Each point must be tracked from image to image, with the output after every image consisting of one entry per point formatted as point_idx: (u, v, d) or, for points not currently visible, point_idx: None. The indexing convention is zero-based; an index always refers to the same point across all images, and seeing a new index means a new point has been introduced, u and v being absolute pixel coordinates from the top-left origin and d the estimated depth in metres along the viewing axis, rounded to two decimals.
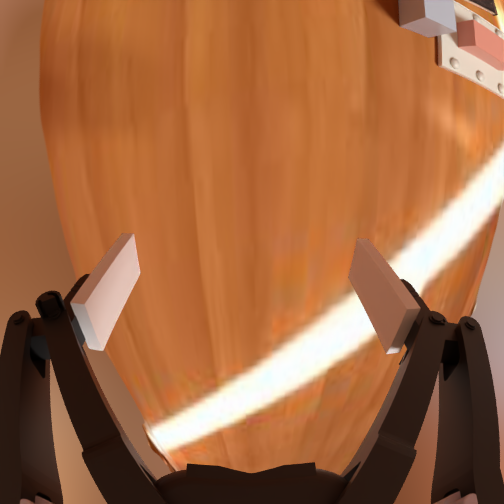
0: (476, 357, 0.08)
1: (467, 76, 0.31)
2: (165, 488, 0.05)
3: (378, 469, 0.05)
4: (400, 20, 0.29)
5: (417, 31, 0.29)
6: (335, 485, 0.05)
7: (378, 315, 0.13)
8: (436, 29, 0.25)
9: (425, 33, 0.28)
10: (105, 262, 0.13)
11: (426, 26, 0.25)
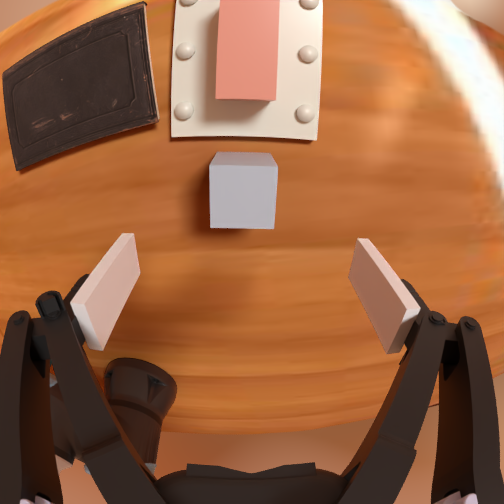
0: (476, 357, 0.08)
1: (318, 85, 0.27)
2: (165, 488, 0.05)
3: (378, 469, 0.05)
4: None
5: None
6: (335, 485, 0.05)
7: (378, 315, 0.13)
8: None
9: None
10: (105, 262, 0.13)
11: None
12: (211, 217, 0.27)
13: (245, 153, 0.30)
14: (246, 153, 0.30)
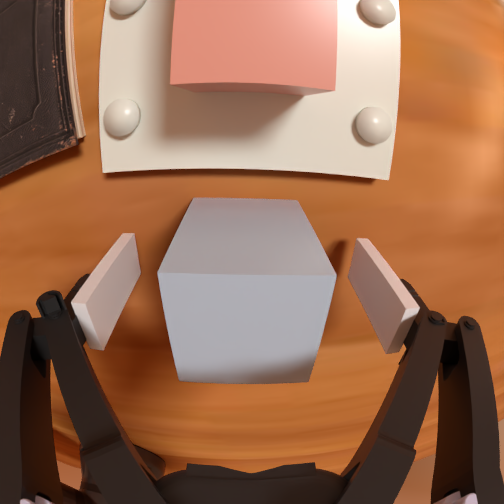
0: (475, 357, 0.08)
1: (396, 70, 0.12)
2: (165, 488, 0.05)
3: (378, 469, 0.05)
4: None
5: None
6: (335, 485, 0.05)
7: (377, 315, 0.13)
8: None
9: None
10: (106, 262, 0.13)
11: None
12: (178, 367, 0.12)
13: (249, 203, 0.15)
14: (251, 203, 0.15)
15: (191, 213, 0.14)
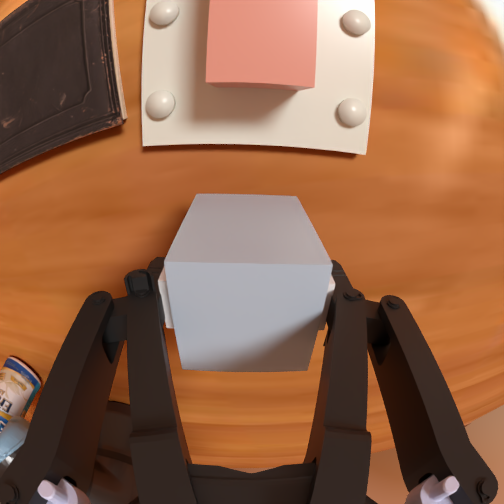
0: (409, 337, 0.09)
1: (370, 70, 0.16)
2: None
3: (337, 462, 0.05)
4: None
5: None
6: (299, 487, 0.05)
7: None
8: None
9: None
10: None
11: None
12: (182, 355, 0.12)
13: (250, 199, 0.16)
14: (252, 199, 0.16)
15: (195, 208, 0.15)
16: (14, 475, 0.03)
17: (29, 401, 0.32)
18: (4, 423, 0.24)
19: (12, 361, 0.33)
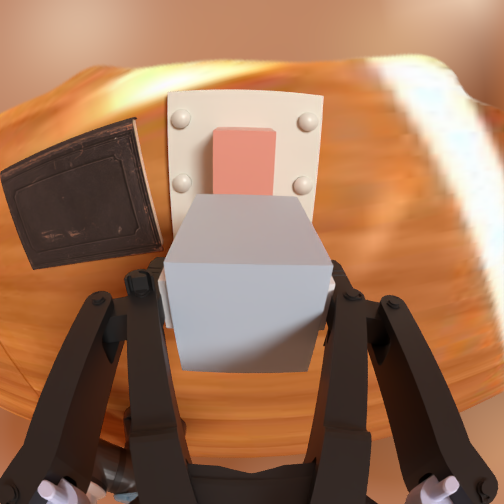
0: (409, 337, 0.09)
1: (310, 215, 0.32)
2: None
3: (337, 462, 0.05)
4: None
5: None
6: (299, 487, 0.05)
7: None
8: None
9: None
10: None
11: None
12: (181, 356, 0.12)
13: (250, 199, 0.16)
14: (252, 199, 0.16)
15: (194, 208, 0.15)
16: (14, 475, 0.03)
17: None
18: None
19: None
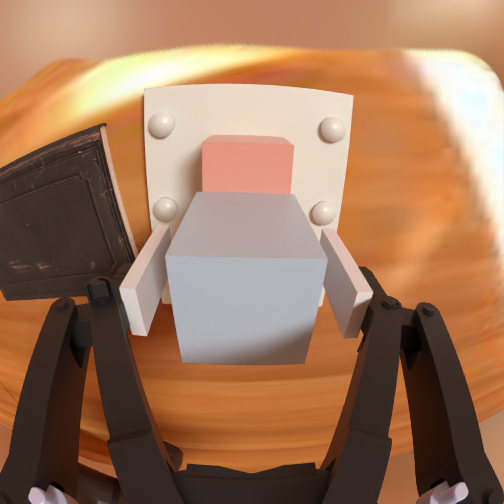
0: (439, 344, 0.09)
1: None
2: None
3: (355, 463, 0.05)
4: None
5: None
6: (315, 485, 0.05)
7: (337, 300, 0.14)
8: None
9: None
10: (147, 250, 0.14)
11: None
12: (182, 348, 0.13)
13: (249, 197, 0.17)
14: (251, 197, 0.17)
15: (195, 205, 0.15)
16: (5, 487, 0.03)
17: None
18: None
19: None
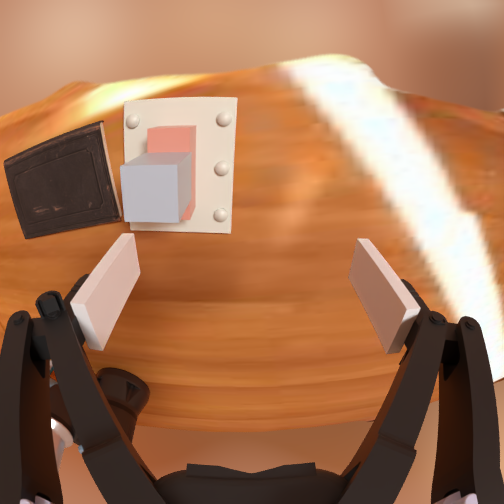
0: (476, 357, 0.08)
1: (230, 192, 0.40)
2: (165, 488, 0.05)
3: (378, 469, 0.05)
4: None
5: (190, 176, 0.33)
6: (335, 485, 0.05)
7: (378, 315, 0.13)
8: (183, 177, 0.29)
9: (189, 167, 0.32)
10: (105, 262, 0.13)
11: (184, 191, 0.30)
12: (124, 212, 0.28)
13: (167, 153, 0.32)
14: (168, 153, 0.32)
15: (140, 156, 0.30)
16: None
17: (52, 369, 0.54)
18: None
19: None
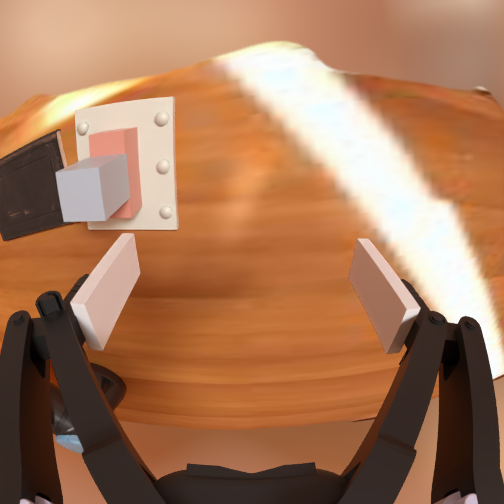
0: (476, 357, 0.08)
1: (173, 189, 0.40)
2: (165, 488, 0.05)
3: (378, 469, 0.05)
4: None
5: (126, 176, 0.33)
6: (335, 485, 0.05)
7: (378, 315, 0.13)
8: (111, 178, 0.29)
9: (123, 167, 0.32)
10: (105, 262, 0.13)
11: (114, 190, 0.30)
12: (62, 213, 0.27)
13: (104, 156, 0.31)
14: (105, 156, 0.31)
15: (80, 161, 0.30)
16: None
17: None
18: None
19: None
